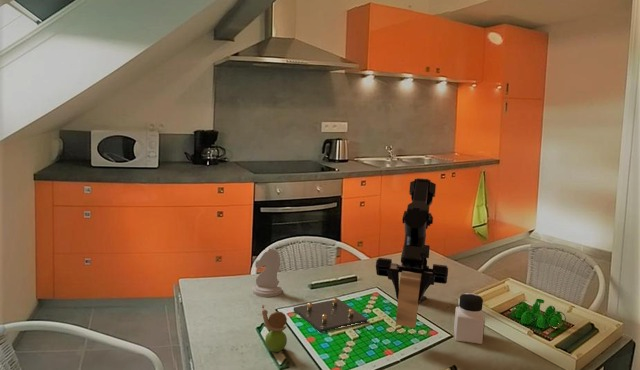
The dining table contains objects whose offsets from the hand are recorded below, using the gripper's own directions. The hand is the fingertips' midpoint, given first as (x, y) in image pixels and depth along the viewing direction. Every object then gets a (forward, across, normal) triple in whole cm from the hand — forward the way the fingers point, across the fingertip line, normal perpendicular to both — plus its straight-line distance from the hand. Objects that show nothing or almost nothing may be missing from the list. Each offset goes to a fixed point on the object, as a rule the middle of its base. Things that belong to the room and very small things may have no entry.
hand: (408, 300), depth 124 cm
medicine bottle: (+1, +16, +18) cm, 24 cm away
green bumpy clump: (-12, +37, +31) cm, 50 cm away
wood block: (+4, 0, +6) cm, 7 cm away
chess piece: (-7, -47, +26) cm, 55 cm away
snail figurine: (+18, -32, 0) cm, 37 cm away
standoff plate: (+1, -23, +18) cm, 29 cm away
